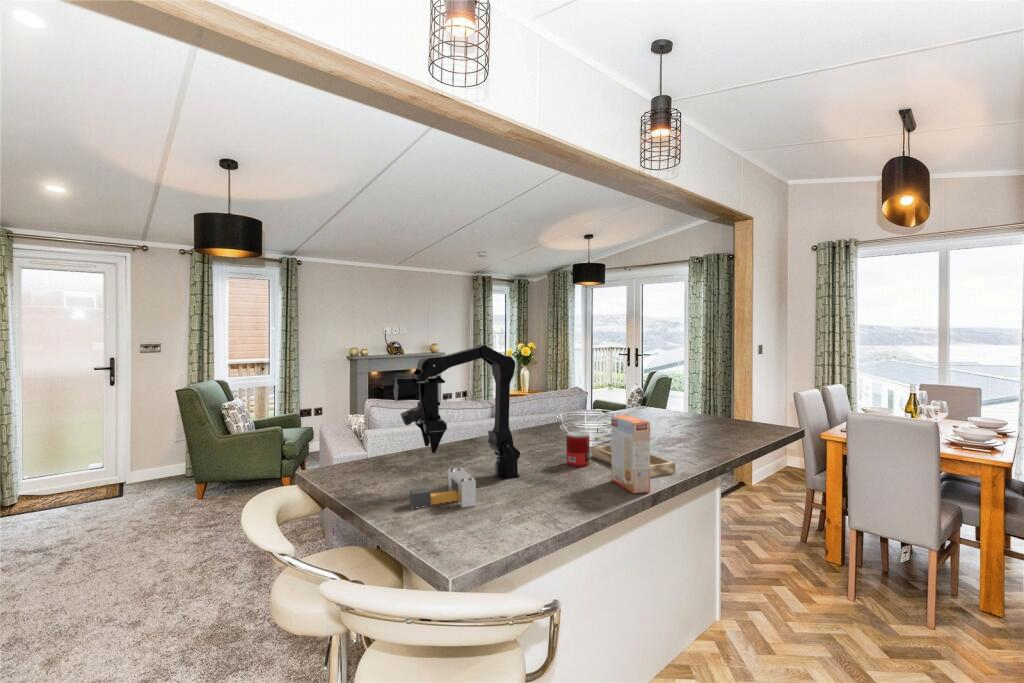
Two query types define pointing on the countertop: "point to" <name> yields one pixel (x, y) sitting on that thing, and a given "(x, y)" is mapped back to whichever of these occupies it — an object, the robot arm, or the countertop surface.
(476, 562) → the countertop surface
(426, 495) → the plug
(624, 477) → the cracker box
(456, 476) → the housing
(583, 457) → the canned food
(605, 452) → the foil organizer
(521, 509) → the countertop surface
